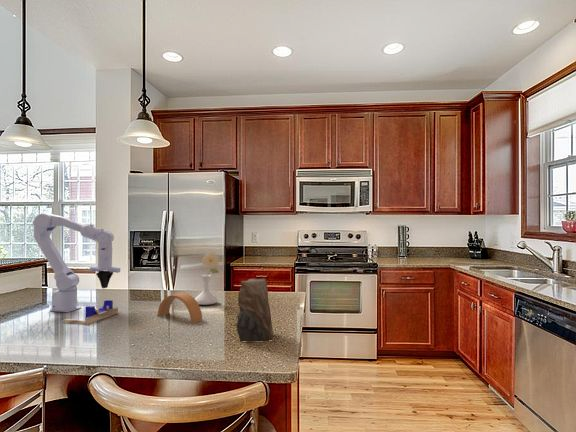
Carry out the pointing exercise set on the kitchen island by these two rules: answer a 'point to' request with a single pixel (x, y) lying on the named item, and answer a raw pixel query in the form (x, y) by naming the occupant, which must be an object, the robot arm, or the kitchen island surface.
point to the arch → (187, 300)
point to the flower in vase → (206, 295)
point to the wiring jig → (94, 316)
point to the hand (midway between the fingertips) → (104, 287)
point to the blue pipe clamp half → (91, 309)
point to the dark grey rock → (254, 311)
